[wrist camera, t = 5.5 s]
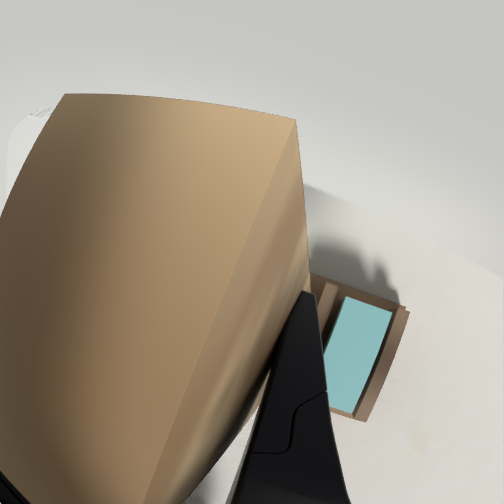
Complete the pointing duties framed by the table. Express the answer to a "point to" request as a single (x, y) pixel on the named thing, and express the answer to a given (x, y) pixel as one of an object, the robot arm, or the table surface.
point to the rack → (327, 308)
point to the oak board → (143, 293)
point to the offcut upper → (352, 351)
